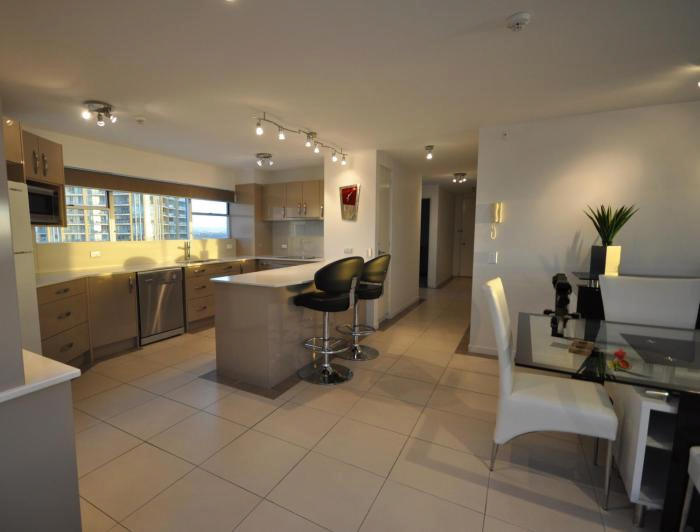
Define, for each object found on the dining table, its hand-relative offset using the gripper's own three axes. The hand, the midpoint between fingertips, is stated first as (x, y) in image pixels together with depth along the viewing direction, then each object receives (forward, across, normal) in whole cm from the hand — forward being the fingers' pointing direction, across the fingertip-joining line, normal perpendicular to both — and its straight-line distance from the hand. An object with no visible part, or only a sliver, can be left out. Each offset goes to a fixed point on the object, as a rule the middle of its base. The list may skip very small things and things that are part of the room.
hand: (560, 327), depth 204 cm
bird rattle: (+12, +30, -22) cm, 39 cm away
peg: (+3, 0, 0) cm, 3 cm away
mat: (+12, 0, 0) cm, 12 cm away
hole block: (+12, +11, 0) cm, 16 cm away
